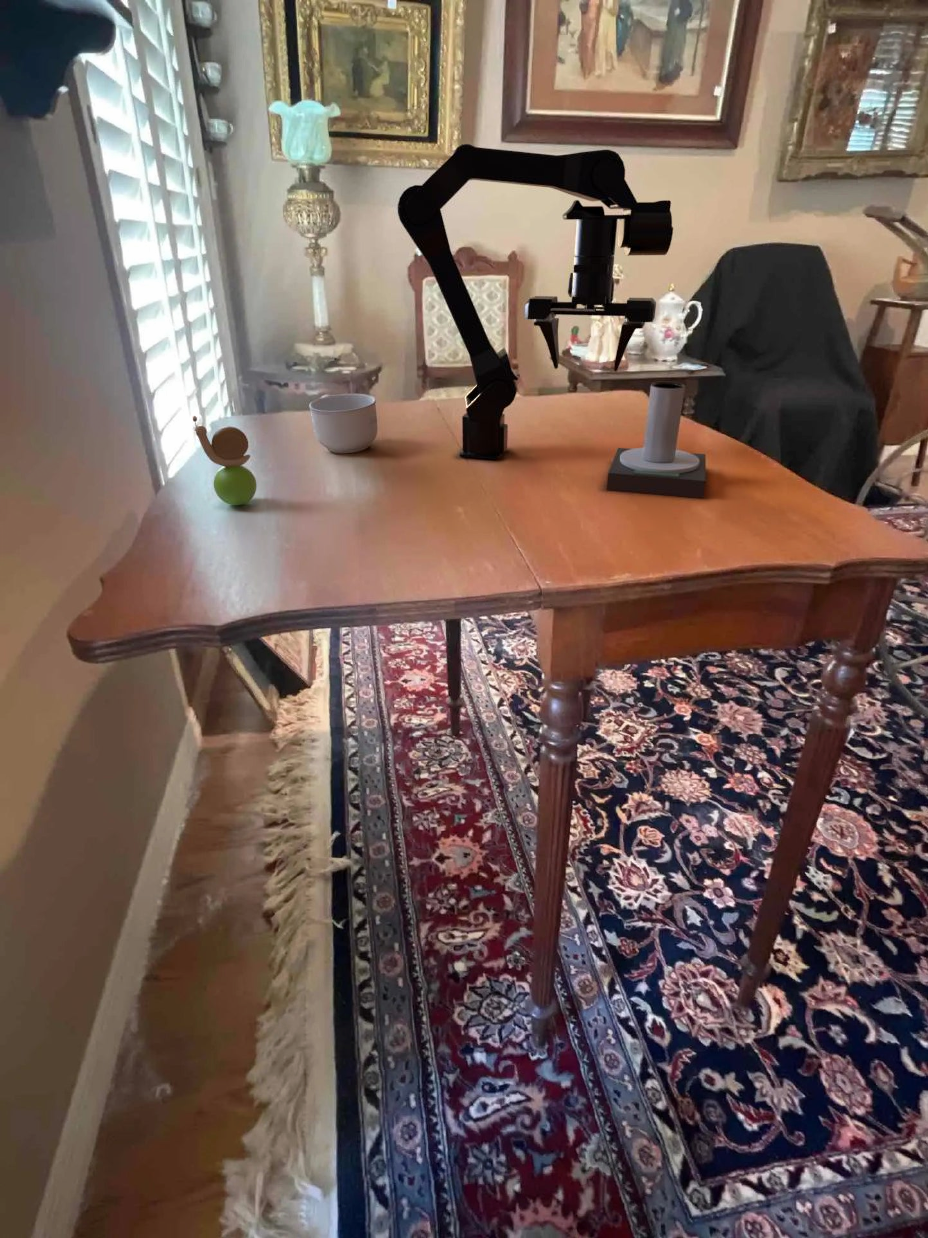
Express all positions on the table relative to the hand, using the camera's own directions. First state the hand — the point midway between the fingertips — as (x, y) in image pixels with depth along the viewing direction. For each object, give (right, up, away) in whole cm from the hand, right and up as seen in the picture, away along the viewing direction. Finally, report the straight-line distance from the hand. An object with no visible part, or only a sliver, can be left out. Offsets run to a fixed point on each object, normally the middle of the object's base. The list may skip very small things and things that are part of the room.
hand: (585, 369), depth 107 cm
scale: (+9, -18, -6) cm, 21 cm away
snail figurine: (-50, -23, -14) cm, 57 cm away
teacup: (-39, -9, +11) cm, 42 cm away
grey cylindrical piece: (+9, -16, -7) cm, 20 cm away
